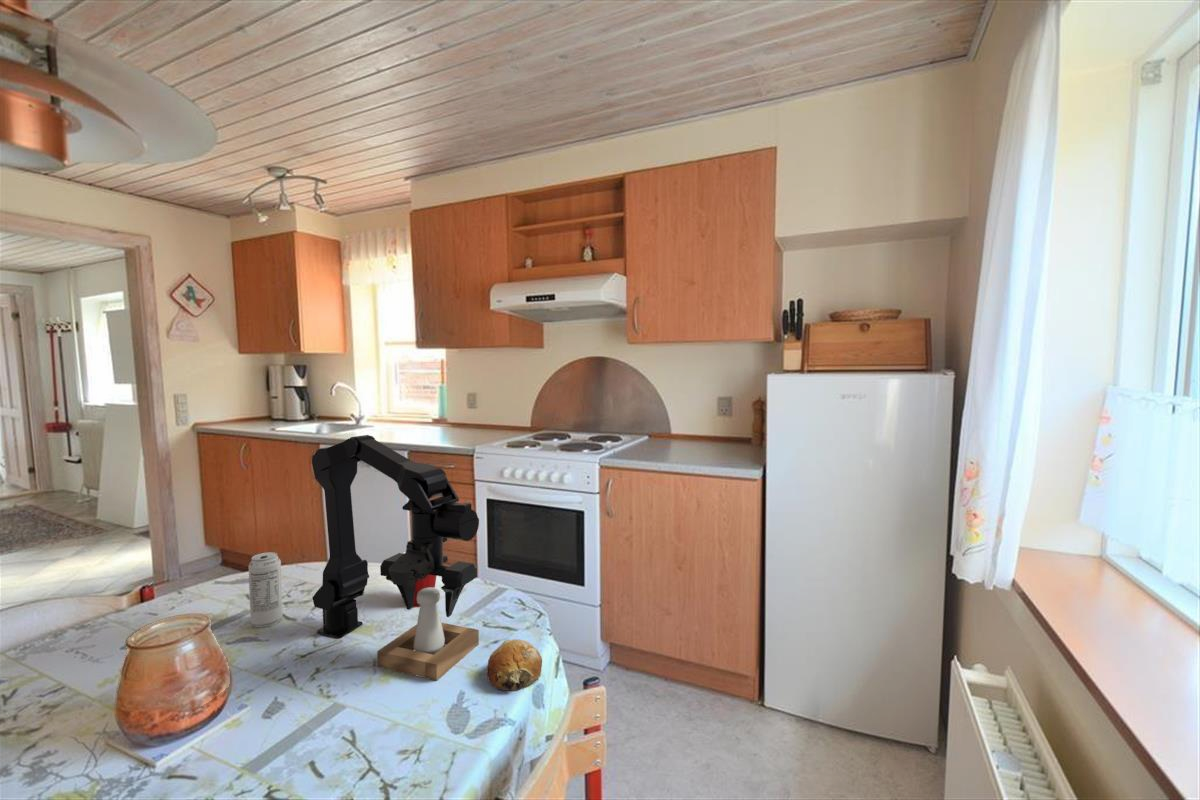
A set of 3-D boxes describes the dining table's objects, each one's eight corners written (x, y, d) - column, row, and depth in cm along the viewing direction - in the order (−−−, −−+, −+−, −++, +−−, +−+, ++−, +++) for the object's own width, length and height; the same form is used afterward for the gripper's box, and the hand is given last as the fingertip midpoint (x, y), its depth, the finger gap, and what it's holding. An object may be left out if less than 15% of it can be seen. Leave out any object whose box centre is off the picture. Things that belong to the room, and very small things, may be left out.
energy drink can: (286, 614, 119) (283, 550, 119) (278, 626, 114) (276, 559, 113) (255, 618, 117) (253, 553, 117) (246, 630, 112) (244, 562, 111)
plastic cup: (425, 588, 133) (423, 542, 133) (452, 599, 127) (451, 550, 126) (386, 603, 125) (384, 554, 124) (413, 616, 118) (412, 564, 118)
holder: (377, 666, 98) (377, 651, 98) (424, 633, 110) (424, 619, 110) (436, 680, 93) (436, 664, 93) (478, 644, 106) (478, 629, 106)
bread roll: (547, 690, 96) (554, 643, 99) (523, 697, 87) (532, 645, 90) (500, 680, 100) (508, 635, 102) (472, 685, 91) (482, 635, 93)
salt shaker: (435, 664, 98) (433, 597, 98) (408, 661, 100) (406, 595, 99) (450, 648, 104) (449, 585, 103) (424, 645, 105) (423, 582, 105)
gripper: (357, 541, 96) (359, 623, 97) (441, 552, 90) (443, 640, 91) (399, 524, 107) (401, 599, 107) (477, 534, 100) (479, 613, 101)
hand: (429, 612), depth 101 cm, fingers open, 9 cm apart
